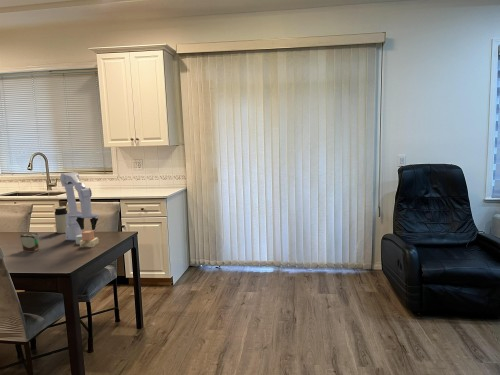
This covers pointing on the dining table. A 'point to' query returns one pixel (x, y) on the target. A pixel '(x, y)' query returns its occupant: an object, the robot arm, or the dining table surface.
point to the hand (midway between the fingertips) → (88, 229)
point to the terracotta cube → (87, 235)
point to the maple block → (89, 243)
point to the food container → (30, 242)
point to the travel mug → (60, 219)
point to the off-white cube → (78, 239)
